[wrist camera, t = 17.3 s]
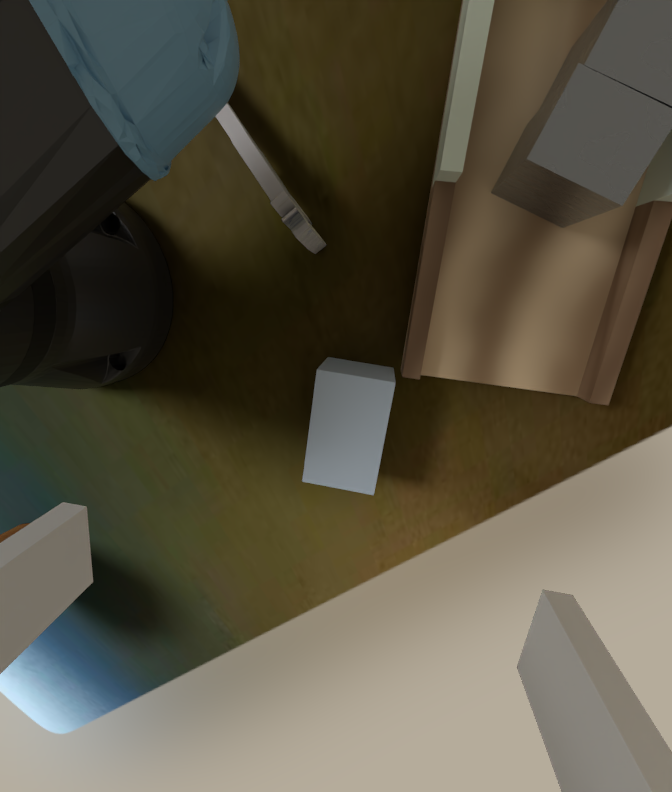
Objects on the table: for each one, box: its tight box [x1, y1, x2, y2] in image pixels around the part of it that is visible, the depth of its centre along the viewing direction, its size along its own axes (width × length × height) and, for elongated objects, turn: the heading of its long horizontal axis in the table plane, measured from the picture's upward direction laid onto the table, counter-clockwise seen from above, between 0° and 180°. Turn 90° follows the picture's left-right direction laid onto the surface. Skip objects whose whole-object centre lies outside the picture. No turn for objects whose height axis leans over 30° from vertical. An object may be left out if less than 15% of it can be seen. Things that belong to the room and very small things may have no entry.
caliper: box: [216, 102, 326, 254], centre depth 22 cm, size 20×1×6 cm, turn 36°
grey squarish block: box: [491, 63, 672, 228], centre depth 19 cm, size 5×4×6 cm
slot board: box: [401, 0, 672, 405], centre depth 22 cm, size 13×24×2 cm, turn 173°
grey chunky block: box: [540, 0, 672, 108], centre depth 18 cm, size 5×4×6 cm
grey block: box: [302, 357, 396, 495], centre depth 26 cm, size 5×5×8 cm
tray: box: [432, 0, 672, 207], centre depth 19 cm, size 13×12×4 cm
